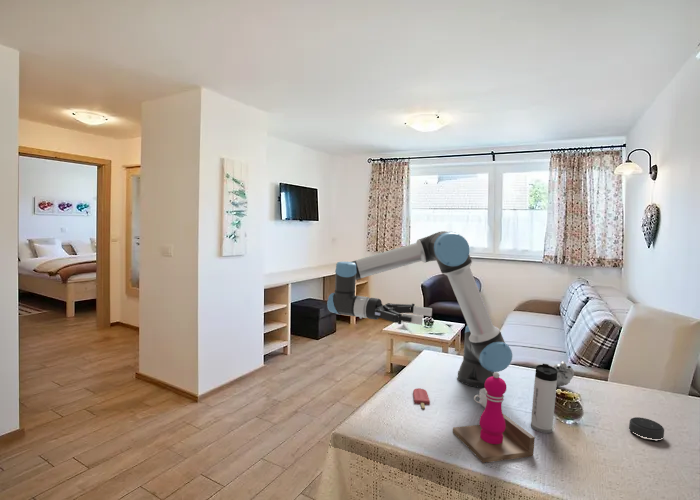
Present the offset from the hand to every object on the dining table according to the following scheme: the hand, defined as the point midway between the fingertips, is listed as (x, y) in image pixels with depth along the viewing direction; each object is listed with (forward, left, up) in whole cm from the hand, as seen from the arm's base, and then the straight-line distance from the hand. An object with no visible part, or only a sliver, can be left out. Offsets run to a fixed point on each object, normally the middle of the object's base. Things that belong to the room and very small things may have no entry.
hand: (427, 316), depth 137 cm
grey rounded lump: (-63, -6, -32) cm, 71 cm away
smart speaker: (-63, +30, -32) cm, 77 cm away
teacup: (-23, +4, -32) cm, 40 cm away
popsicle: (-3, -6, -33) cm, 33 cm away
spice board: (-10, +25, -32) cm, 42 cm away
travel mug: (-32, +20, -32) cm, 50 cm away
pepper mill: (-10, +25, -31) cm, 41 cm away
